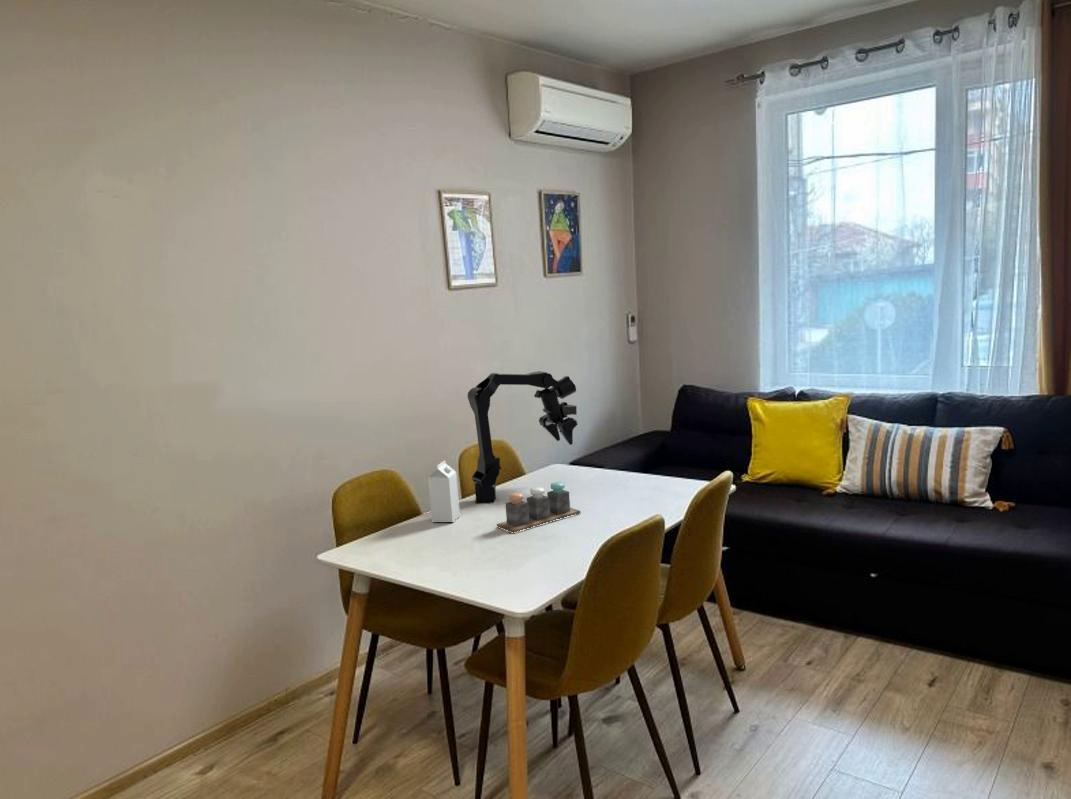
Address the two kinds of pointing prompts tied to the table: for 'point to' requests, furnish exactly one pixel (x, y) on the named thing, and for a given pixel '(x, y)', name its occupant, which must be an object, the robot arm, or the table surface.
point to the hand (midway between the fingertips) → (564, 442)
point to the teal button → (557, 487)
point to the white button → (537, 492)
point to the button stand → (537, 511)
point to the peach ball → (515, 498)
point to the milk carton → (444, 494)
